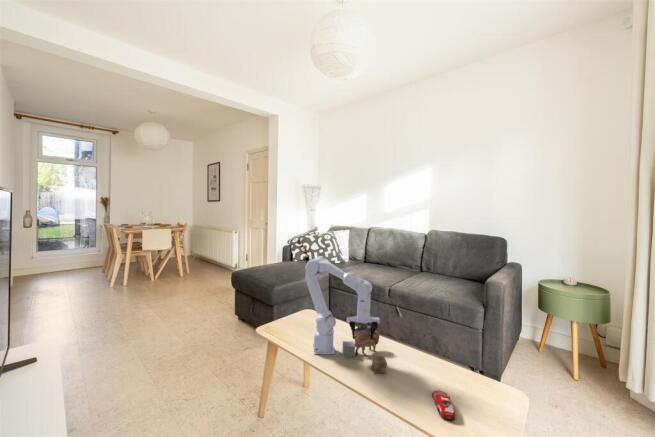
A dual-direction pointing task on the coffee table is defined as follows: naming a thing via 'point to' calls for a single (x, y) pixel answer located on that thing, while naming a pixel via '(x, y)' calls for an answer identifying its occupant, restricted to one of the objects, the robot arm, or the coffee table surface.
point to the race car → (443, 405)
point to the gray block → (348, 349)
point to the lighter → (362, 335)
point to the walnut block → (379, 365)
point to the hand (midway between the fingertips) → (362, 338)
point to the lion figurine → (372, 343)
